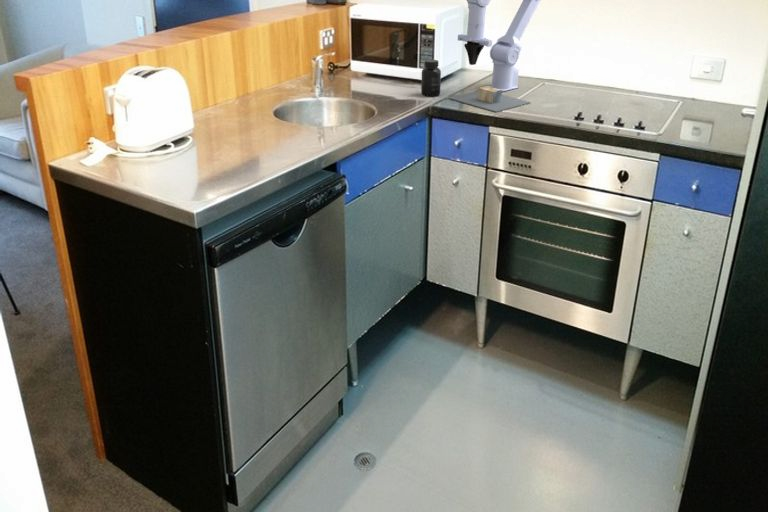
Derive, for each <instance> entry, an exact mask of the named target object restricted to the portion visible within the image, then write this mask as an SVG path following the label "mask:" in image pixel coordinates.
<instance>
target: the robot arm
mask: <svg viewBox="0 0 768 512" xmlns="http://www.w3.org/2000/svg"><path fill="white" fill-rule="evenodd" d="M490 1H491V0H466V3H467V8H468V17H467V27H466V29H467V30H466V34H462V33H461V34H458V35H457V41H461V42H466V43H464V44H463V45H464V48H465V50H466V53H467V57H468V64H469V65H471V66H473V65H476V64H477V62H478V58H479V57H480V54H481V52H482V50H483V49H484V48H485V47H488V48H489V47H490V51H489V57H490V59H491V60H492V63H493V69H492V79H491V85H487V86H488V87H492V88H496V89H499V90H502V93H503V92H506V91H511V90H514V89H518V88H520V86H518V82H519V81H518V80H519V70H520V69H519V66H518V65H517V64H516V63H517V62H518V60H519V59H520V57H519V56H520V52H521V51H522V45H521V43H520V40H521V38H522V37H523V34H524V33H525V31H526V28H527V27H528V25H529V23H530V21H531V20H532V17H533V15H534V13H535V12H536V9H537V7H538V5H539V4H540V1H541V0H522V2H521V4H520V6H519V8H518V9H517V12H516V13H515V15H514V17H513V19H512V21H511V23H510V25H509V26H508V28H507V30H506V32H505V34H504V35H503V36H501V37H499V38H497V40H496V42H495V43H494V44H493V40H491V39H488V38H485V37H484V32H485V21H486V20H485V19H486V8H487V6H488V5H489V4H490Z"/></svg>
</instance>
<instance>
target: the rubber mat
mask: <svg viewBox="0 0 768 512" xmlns="http://www.w3.org/2000/svg"><path fill="white" fill-rule="evenodd" d="M478 93H479V90H476V91H472V92H466V93H463V94H459V95H454V96H450V97H448V99H449V100H452V101H455V102H458V103H462V104H465V105H468V106H473V107H476V108H480V109H483V110H486V111H489V112H493V113H500V112H503V110H504V111H507V109H508V110H510V109H515V108H519V107H522V106H521V105H523V106H526V105H529V104H528V103H530V104H531V101H527V100H523V99H519V98H515V97H513V96H508V95H505V94H502V95H501V102H498V103H494V104H493V103H489V102H486V101H482V100H479V99H478ZM525 104H526V105H525ZM518 106H519V107H518Z"/></svg>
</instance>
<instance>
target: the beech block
mask: <svg viewBox="0 0 768 512" xmlns="http://www.w3.org/2000/svg"><path fill="white" fill-rule="evenodd" d="M488 86H489V85H487V86H486V85H485V86H481V87H479V88H478V91H479V93H478V99H479V100H482V101H486V102H489V103H493V104H494V103H498V102H501V95H503V94H502V93H503V92H502V90H499V89H496V88H492V87H488Z"/></svg>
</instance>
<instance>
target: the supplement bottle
mask: <svg viewBox="0 0 768 512" xmlns="http://www.w3.org/2000/svg"><path fill="white" fill-rule="evenodd" d="M441 70H442V69H441V68H439V60H438V59H425V60H424V68H422V70H421V83H420V84H421V86H420V87H421V88H420V91H421V92H420V93H421V95H422V96H423V97H430V98H434V97H438V96H439V95H441V83H442V82H441V80H442V71H441Z"/></svg>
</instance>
